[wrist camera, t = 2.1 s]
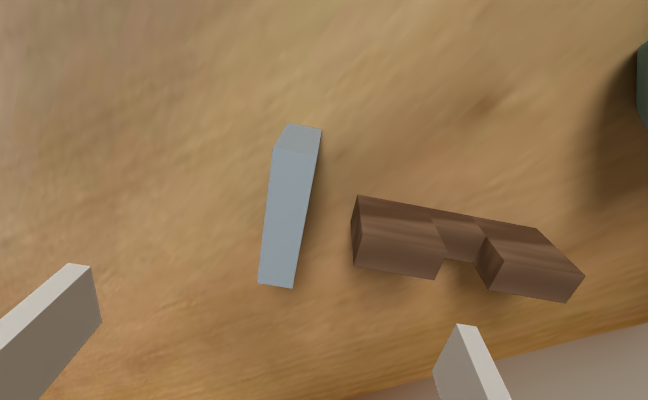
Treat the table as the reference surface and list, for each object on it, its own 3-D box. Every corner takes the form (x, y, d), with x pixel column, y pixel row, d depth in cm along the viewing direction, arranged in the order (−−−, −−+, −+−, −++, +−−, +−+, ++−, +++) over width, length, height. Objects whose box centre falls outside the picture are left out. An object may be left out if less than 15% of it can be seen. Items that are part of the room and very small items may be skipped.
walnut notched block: (357, 194, 30) (362, 235, 24) (536, 228, 31) (585, 276, 25) (350, 221, 32) (353, 265, 25) (522, 252, 33) (565, 303, 26)
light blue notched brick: (287, 122, 27) (273, 147, 21) (321, 129, 28) (317, 156, 21) (272, 236, 33) (256, 282, 27) (300, 241, 33) (292, 288, 27)
